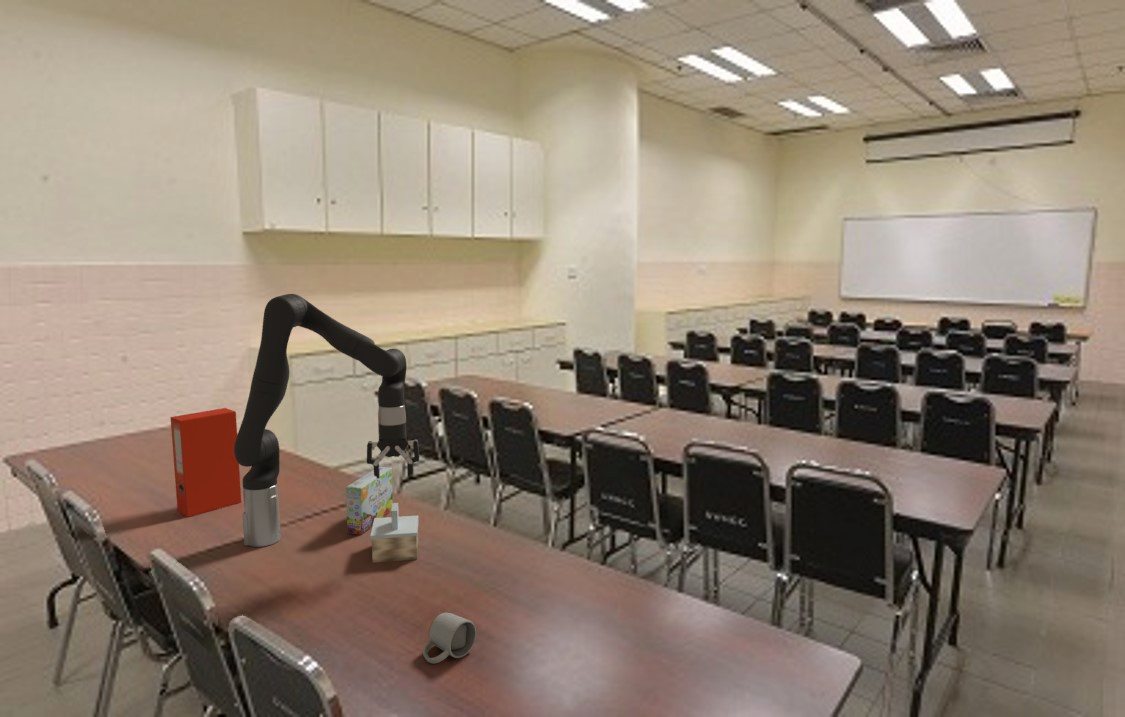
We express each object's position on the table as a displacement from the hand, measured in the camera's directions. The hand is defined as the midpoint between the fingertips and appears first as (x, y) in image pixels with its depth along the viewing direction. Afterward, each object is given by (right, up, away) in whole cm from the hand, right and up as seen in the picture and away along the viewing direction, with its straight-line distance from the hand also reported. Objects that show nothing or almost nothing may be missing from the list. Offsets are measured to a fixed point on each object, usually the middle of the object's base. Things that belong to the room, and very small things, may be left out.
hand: (393, 476), depth 189 cm
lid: (0, -16, +3) cm, 17 cm away
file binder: (-70, -17, +36) cm, 81 cm away
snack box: (-13, -19, +25) cm, 34 cm away
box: (0, -22, +3) cm, 22 cm away
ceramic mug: (+23, -30, -45) cm, 59 cm away
